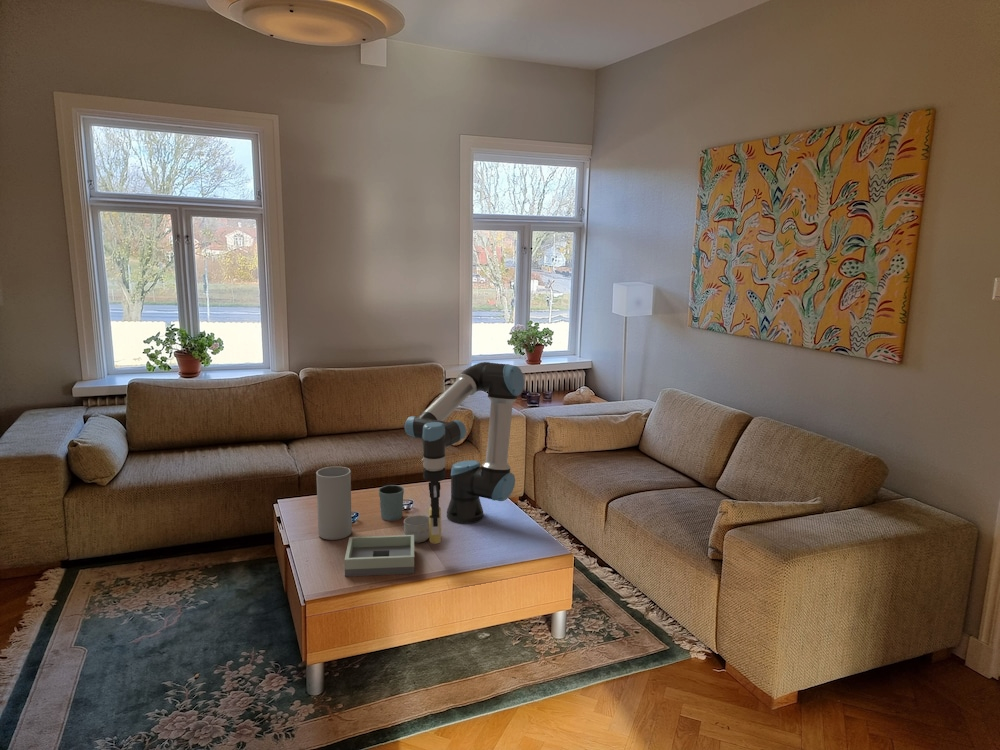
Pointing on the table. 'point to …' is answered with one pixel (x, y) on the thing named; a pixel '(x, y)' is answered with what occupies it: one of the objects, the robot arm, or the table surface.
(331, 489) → the cylinder vase
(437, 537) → the peg
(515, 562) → the table surface
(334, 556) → the table surface
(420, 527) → the teacup
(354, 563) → the box
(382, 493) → the grey-green cup
